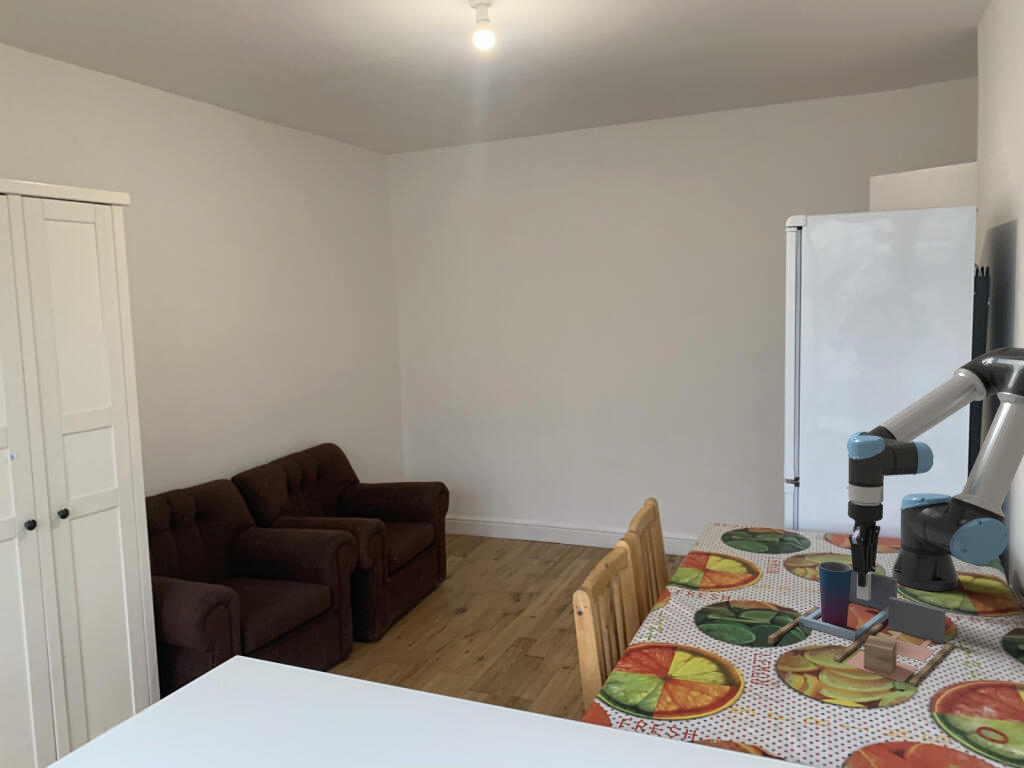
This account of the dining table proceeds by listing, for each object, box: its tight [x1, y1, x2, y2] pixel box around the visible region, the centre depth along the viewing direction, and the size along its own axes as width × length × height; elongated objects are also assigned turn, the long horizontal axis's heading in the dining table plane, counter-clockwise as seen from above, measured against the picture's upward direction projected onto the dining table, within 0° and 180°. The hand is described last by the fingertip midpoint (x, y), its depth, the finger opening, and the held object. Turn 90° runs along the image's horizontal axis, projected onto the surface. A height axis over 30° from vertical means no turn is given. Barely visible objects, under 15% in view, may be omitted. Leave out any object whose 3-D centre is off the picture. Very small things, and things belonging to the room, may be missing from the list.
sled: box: [798, 568, 898, 642], centre depth 176 cm, size 24×12×8 cm, turn 134°
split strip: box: [844, 597, 947, 683], centre depth 158 cm, size 24×11×8 cm, turn 134°
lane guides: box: [767, 606, 955, 687], centre depth 163 cm, size 23×30×2 cm
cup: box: [818, 560, 853, 629], centre depth 170 cm, size 7×7×15 cm
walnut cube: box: [863, 635, 898, 675], centre depth 152 cm, size 5×5×5 cm
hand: (863, 598), depth 182 cm, fingers closed
